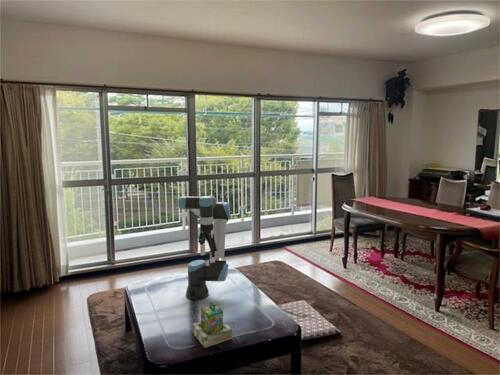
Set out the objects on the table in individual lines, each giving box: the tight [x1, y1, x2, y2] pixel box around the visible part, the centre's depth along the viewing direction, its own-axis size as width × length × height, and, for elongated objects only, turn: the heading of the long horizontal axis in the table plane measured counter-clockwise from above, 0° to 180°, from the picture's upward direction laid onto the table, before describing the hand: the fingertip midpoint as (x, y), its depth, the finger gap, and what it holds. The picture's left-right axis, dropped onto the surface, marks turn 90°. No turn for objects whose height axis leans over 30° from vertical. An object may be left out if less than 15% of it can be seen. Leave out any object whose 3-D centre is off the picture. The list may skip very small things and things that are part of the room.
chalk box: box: [200, 301, 224, 335], centre depth 195 cm, size 9×9×15 cm
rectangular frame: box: [192, 320, 233, 349], centre depth 196 cm, size 16×16×6 cm
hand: (207, 258), depth 210 cm, fingers open, 13 cm apart
